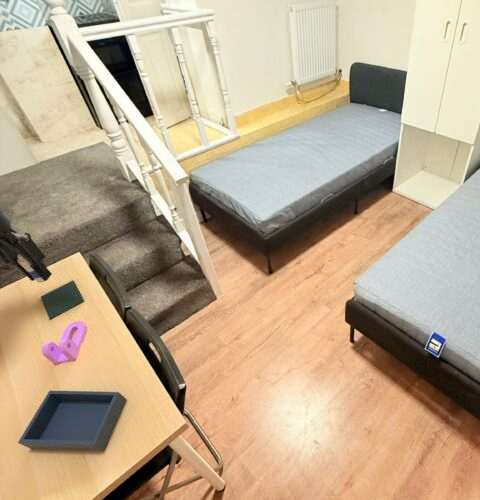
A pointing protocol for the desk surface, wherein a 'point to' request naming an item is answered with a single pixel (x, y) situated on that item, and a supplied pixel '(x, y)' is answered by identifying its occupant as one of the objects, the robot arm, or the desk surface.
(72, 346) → the bracket
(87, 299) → the desk surface
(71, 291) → the desk mat
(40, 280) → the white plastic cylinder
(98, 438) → the dark blue tray
